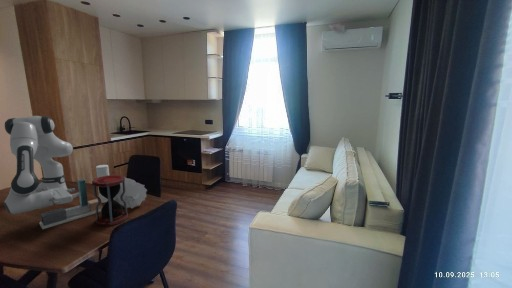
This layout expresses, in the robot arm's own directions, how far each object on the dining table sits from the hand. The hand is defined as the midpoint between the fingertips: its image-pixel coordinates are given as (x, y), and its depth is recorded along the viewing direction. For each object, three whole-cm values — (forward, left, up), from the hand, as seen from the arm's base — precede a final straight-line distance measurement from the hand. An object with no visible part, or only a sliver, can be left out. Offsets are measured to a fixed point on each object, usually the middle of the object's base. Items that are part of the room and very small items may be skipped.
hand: (77, 191), depth 141 cm
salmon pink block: (+5, +6, -14) cm, 16 cm away
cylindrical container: (+2, +22, -15) cm, 27 cm away
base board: (-2, -2, -15) cm, 15 cm away
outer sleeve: (-8, -9, -14) cm, 18 cm away
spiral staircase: (+20, +17, -15) cm, 30 cm away
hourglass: (+22, -4, -15) cm, 27 cm away
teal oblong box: (-1, -1, -13) cm, 13 cm away
